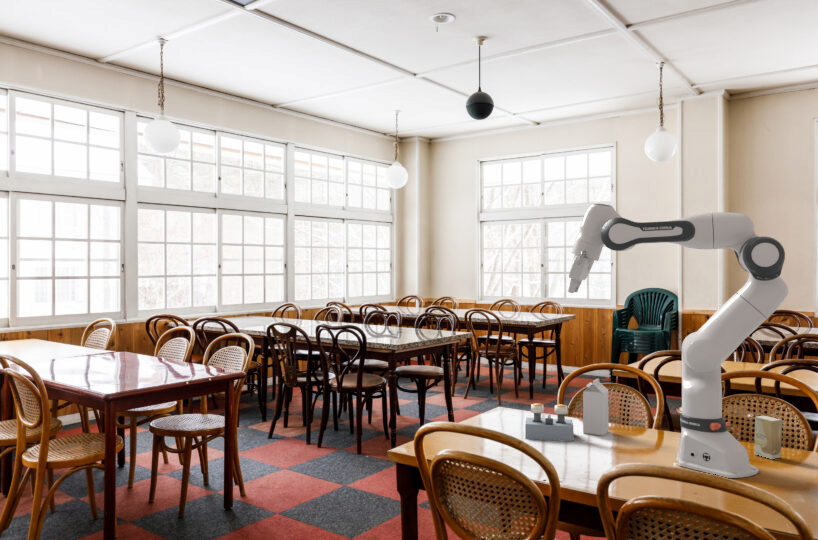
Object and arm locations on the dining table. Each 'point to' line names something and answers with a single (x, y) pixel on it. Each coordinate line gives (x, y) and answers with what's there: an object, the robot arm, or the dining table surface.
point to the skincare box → (768, 437)
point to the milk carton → (595, 409)
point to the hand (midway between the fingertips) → (572, 292)
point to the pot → (549, 420)
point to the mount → (549, 430)
